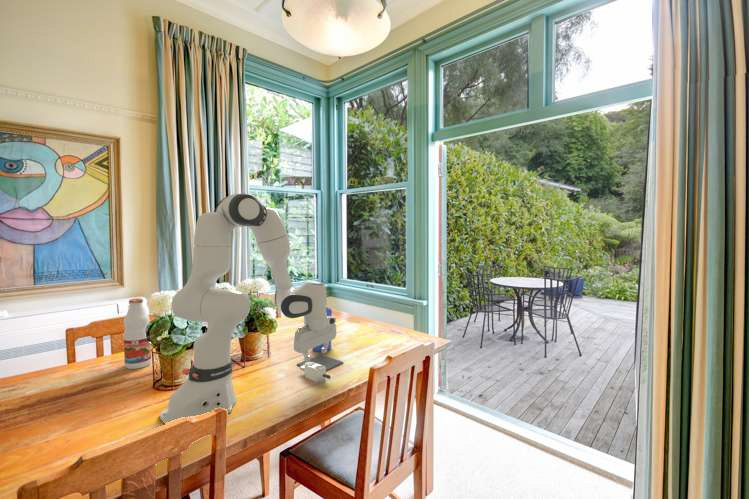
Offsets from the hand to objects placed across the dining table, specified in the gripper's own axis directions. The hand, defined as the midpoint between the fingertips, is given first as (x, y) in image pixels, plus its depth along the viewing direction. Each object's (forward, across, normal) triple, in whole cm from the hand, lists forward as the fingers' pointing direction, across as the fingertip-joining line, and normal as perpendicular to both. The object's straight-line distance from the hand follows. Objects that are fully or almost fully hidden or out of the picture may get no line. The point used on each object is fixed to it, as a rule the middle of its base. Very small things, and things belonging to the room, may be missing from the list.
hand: (315, 356), depth 142 cm
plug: (+8, -1, 0) cm, 8 cm away
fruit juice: (+8, -37, +67) cm, 77 cm away
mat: (+9, +10, +7) cm, 15 cm away
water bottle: (+10, +24, +20) cm, 33 cm away
